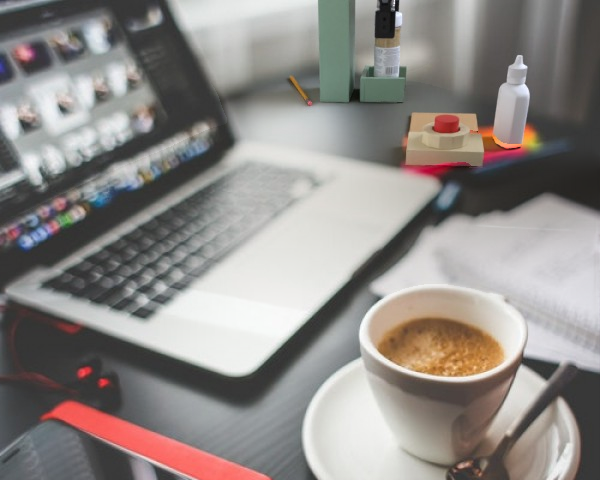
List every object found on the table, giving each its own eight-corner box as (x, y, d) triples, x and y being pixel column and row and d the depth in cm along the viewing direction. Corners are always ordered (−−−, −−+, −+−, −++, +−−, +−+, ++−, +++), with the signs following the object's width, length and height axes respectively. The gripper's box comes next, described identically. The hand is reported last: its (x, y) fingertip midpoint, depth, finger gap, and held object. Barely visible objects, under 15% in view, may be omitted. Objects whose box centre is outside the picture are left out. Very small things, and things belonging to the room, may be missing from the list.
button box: (479, 148, 88) (483, 120, 86) (482, 168, 83) (486, 138, 80) (407, 146, 90) (409, 119, 88) (405, 165, 84) (407, 136, 82)
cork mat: (475, 117, 99) (475, 113, 99) (478, 139, 91) (479, 135, 91) (411, 116, 101) (411, 112, 101) (408, 137, 93) (409, 133, 93)
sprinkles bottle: (396, 90, 113) (400, 9, 105) (400, 98, 109) (404, 14, 101) (370, 92, 113) (372, 11, 105) (374, 99, 109) (376, 16, 101)
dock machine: (405, 88, 114) (412, -30, 103) (403, 103, 106) (409, -21, 96) (327, 86, 116) (325, -28, 106) (319, 102, 109) (316, -20, 98)
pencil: (312, 106, 108) (312, 101, 107) (308, 106, 107) (308, 101, 107) (291, 77, 123) (291, 73, 122) (288, 77, 123) (287, 73, 122)
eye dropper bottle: (524, 138, 91) (538, 51, 84) (520, 151, 87) (535, 61, 80) (493, 135, 92) (505, 50, 86) (488, 148, 88) (500, 60, 81)
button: (457, 127, 85) (459, 114, 84) (458, 135, 83) (459, 122, 82) (433, 126, 86) (435, 114, 85) (433, 135, 83) (434, 122, 82)
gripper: (415, -86, 88) (406, 43, 97) (418, -93, 101) (411, 20, 111) (361, -84, 89) (358, 43, 99) (372, -92, 103) (369, 20, 112)
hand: (386, 31), depth 105 cm, fingers open, 9 cm apart
